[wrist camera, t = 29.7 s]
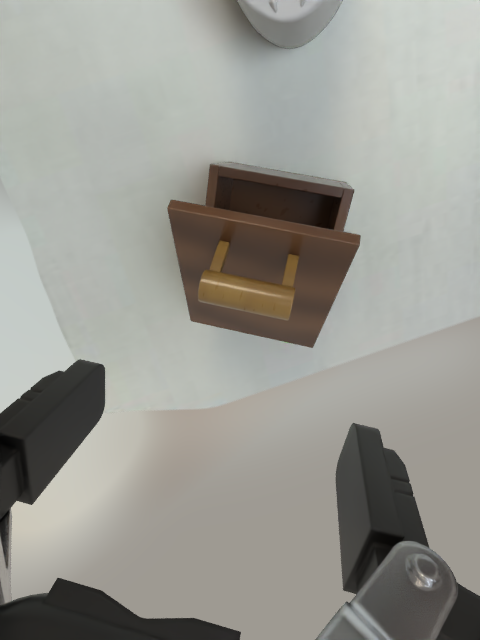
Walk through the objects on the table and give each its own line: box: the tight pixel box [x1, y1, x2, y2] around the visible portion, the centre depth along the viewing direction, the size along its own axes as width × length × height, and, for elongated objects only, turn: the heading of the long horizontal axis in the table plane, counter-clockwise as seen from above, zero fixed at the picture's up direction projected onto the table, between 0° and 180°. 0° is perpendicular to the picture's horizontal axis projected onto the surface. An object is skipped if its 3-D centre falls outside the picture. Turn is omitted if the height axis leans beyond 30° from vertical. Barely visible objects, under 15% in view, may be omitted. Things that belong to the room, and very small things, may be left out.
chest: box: [205, 162, 354, 232], centre depth 36 cm, size 14×12×8 cm
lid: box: [167, 200, 360, 348], centre depth 28 cm, size 14×12×5 cm
